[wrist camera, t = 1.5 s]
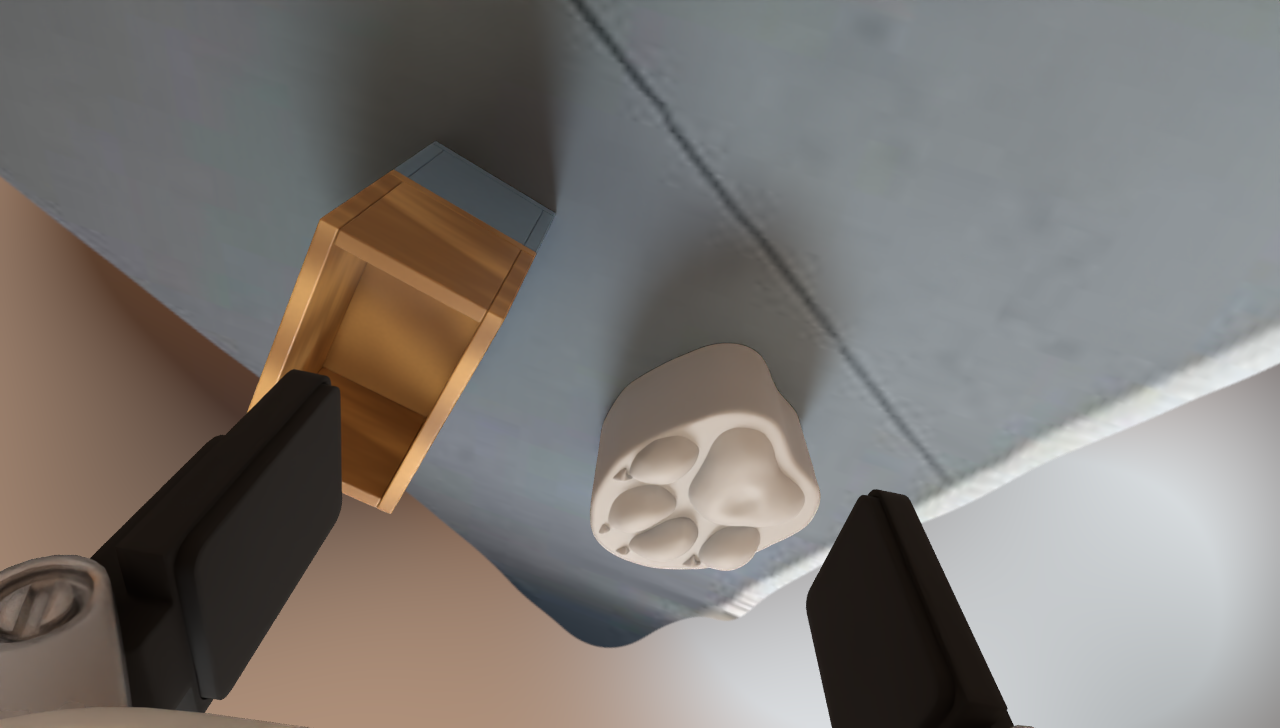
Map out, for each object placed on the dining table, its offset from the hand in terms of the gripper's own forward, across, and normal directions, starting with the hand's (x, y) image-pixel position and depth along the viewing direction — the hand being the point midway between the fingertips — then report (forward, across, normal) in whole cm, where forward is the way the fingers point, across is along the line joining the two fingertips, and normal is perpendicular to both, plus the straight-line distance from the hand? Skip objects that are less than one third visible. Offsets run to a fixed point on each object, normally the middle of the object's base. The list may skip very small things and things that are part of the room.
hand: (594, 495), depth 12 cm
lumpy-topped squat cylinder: (+26, -7, +16) cm, 31 cm away
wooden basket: (+20, +9, +8) cm, 23 cm away
